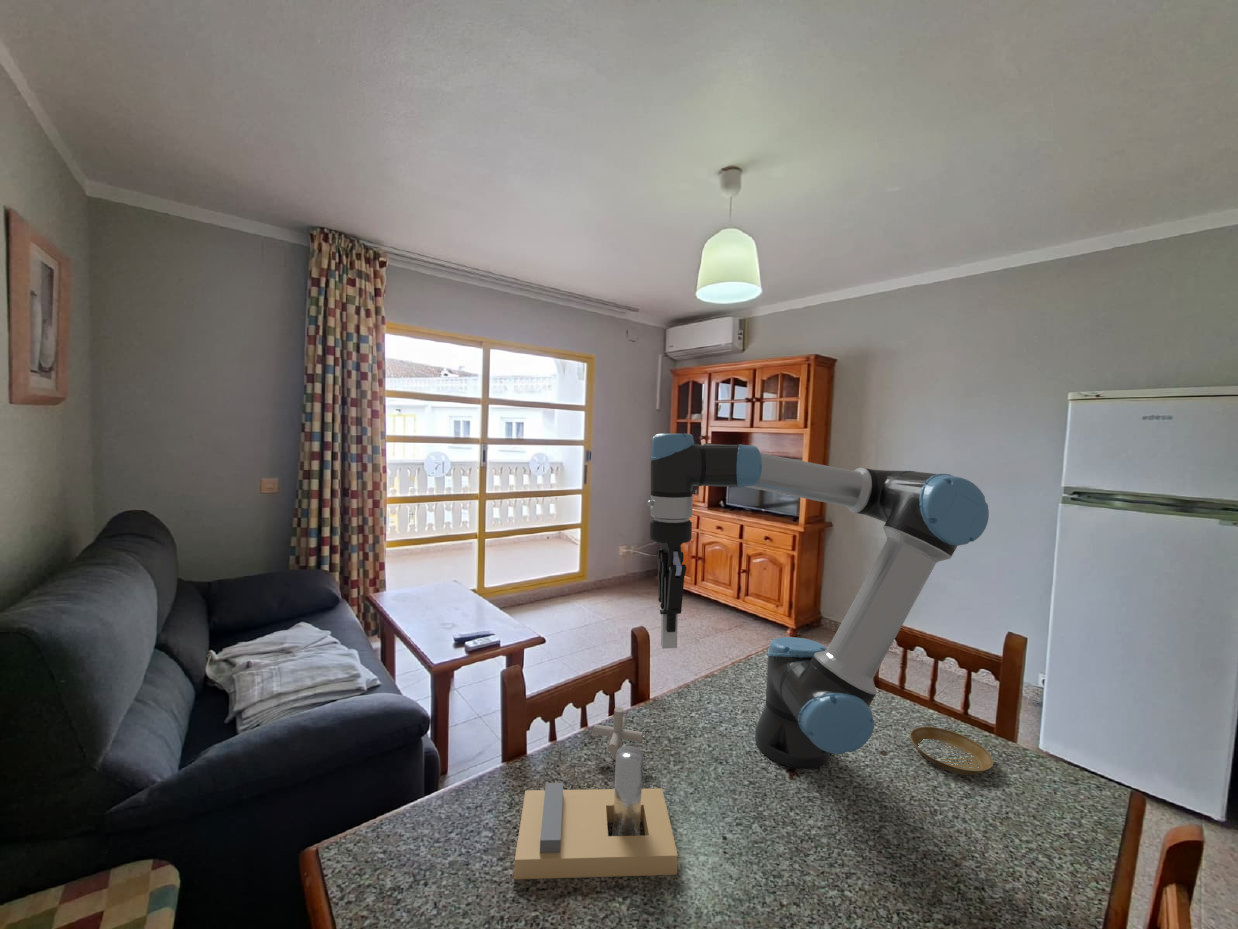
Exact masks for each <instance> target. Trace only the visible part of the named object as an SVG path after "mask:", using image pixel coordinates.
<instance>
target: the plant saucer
mask: <svg viewBox="0 0 1238 929" xmlns="http://www.w3.org/2000/svg"><path fill="white" fill-rule="evenodd" d="M909 739H910V741H911V742H912V744H913V745H914V747H915V749H916V750H917V751H918V752H919V754H921V755H922V756H924V757H923V758H924V759H925V760H927V761H928V762H930V763H931V764H932V765H934V764H935V765H934V766H936V767H938V768H940V769H942V770H944V769H945V770H944V771H947V770H948V771H947V772H951V773H952V774H953V773H954V774H957V773H958V774H957V775H961V774H962V776H974V775H978V774H982V773H984V772H987V771H988V770H990V769H991V768H992V767H993V766H994V763H995V762H994V758H993V756H992V754H991V753H990V751H988V750H987V749H986V748H985V747H984V746H982V745H981V743H980V744H979V743H978V742H977V741H975V740H973V739H972V738H969V737H968V736H965V735H964V734H961V733H958V732H956V731H952V730H949V729H946V728H940V727H934V726H919V727H915V728H913V729H912V730H910V733H909ZM923 739H934V740H940V741H941V743H948V745H945V746H951V749H954V748H955V747H957V748H955V749H963V750H961V753H971V754H969V755H967V756H971V755H972V756H974V757H972V758H970V759H967V758H965V759H963V758H961V759H958V760H968V762H967V761H964V762H962V761H961V762H960V763H961V764H962V763H966V764H962V765H960V764H958V765H957V764H956V765H955V764H953V765H951V764H952V763H959V762H956V761H955V762H952V761H951V762H949V761H948V762H945V761H943V762H944V763H943V762H941V761H938V760H936V759H934V758H932V757H931V756H929V755H927V754H926V753H924V752H923V751H922V750H920V749H919V748H918V746H919V745H918V743H920V742H921V741H922V740H923ZM941 746H942V745H941ZM952 746H955V747H952ZM944 749H945V748H944ZM948 749H949V748H948ZM963 751H965V752H963ZM951 753H952V752H951ZM955 753H956V751H955ZM958 753H960V752H958ZM951 756H952V755H951ZM961 756H964V755H961ZM974 758H975V759H974ZM941 760H947V759H941ZM948 760H949V758H948ZM950 760H956V759H953V758H952V759H950ZM969 760H972V761H970V762H969ZM974 760H975V761H974ZM946 763H951V764H946ZM968 763H972V764H968ZM978 763H979V764H978ZM967 764H968V766H967ZM959 767H961V768H959ZM963 767H965V768H963ZM969 767H972V768H969ZM977 767H979V768H977Z"/></svg>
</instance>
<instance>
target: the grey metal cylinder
mask: <svg viewBox="0 0 1238 929" xmlns="http://www.w3.org/2000/svg"><path fill="white" fill-rule="evenodd" d="M614 768H615V771H614V788H613V789H614V810H613V822H612V834H611V836H641V835H640V834H641V822H640V815H641V794H642V789H643V788H642V787H643V772H644V752H643V750H641V749H640V748H638V747H637V746H633V745H624V746H622V747H621V748H619V749H618V750H617V752H616V760H615V767H614Z"/></svg>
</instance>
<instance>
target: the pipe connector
mask: <svg viewBox="0 0 1238 929" xmlns="http://www.w3.org/2000/svg"><path fill="white" fill-rule="evenodd" d="M627 721H628V720H627V718H626V716H625V715H624V708H622V707H620V706H618V707H615V708H614V711H613V726H606V725H600V724H594V725H593V727H592V735H595V736H601V737H607V738H611V739H610V741H609V744H608V746H607V750H608V752H609V753H610V754H612V756H611V757H612V759H613V761H616V752H617V750H618V749H619V748H621V747H623V740H625V741H631V742H637V743H642V742H643V737H644V736H643V735H644V734H643V731H638V730H631V729H625V728H626V724H627Z"/></svg>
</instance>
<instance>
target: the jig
mask: <svg viewBox="0 0 1238 929" xmlns="http://www.w3.org/2000/svg"><path fill="white" fill-rule="evenodd" d="M544 786H545V788H544V789H540V790H539V789H537V790H536V789H534V790H530V789H529V790H525V791H524V798H523V804H522V810H521V816H520V824H519V830H518V831H519V832H518V836H517V843H516V848H515V857H514V867H513V868H514V869H513V870H514V872H513V873H514V874H513V879H514V880H539V879H540V880H542V879H571V878H574V879H576V878H578V879H579V878H605V877H606V878H607V877H609V878H610V877H611V878H613V877H638V876H639V877H641V876H644V877H645V876H673V875H674V876H675V875H678V860H679V858H678V857H679V855H678V851H677V850H678V849H677V847H676V842H675V838H674V837H675V836H674V833H673V830H672V829H673V828H672V824H671V821H670V817H669V812H668V807H667V803H666V799H665V796H664V791H663V788H662V787H661V788H642V794H641V815H640V823H642V824H643V826H642V827H643V830H644V835H640V836H612V835H611V836H610V835H609V830H608V828H609V827H608V823H613V810H614V788H611V789H610V788H608V789H606V788H605V789H603V788H599V789H598V788H595V789H592V788H591V789H564V782H546V783H545V785H544Z"/></svg>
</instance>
